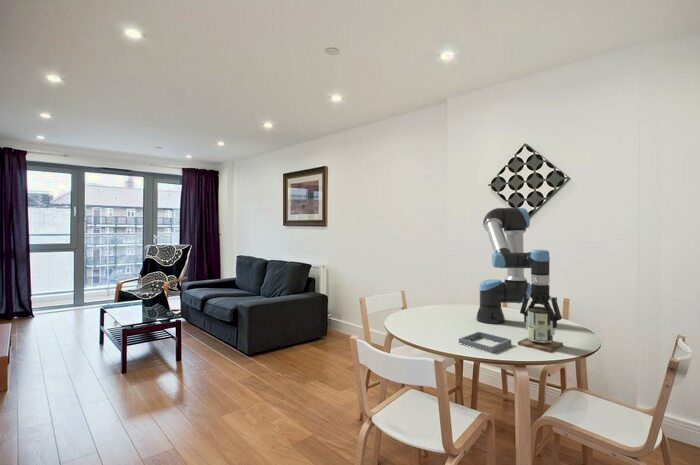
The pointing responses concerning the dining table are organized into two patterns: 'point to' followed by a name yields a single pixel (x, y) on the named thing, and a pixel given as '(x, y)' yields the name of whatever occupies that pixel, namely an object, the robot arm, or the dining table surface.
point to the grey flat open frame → (503, 343)
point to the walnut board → (541, 345)
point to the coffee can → (539, 324)
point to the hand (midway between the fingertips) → (540, 332)
